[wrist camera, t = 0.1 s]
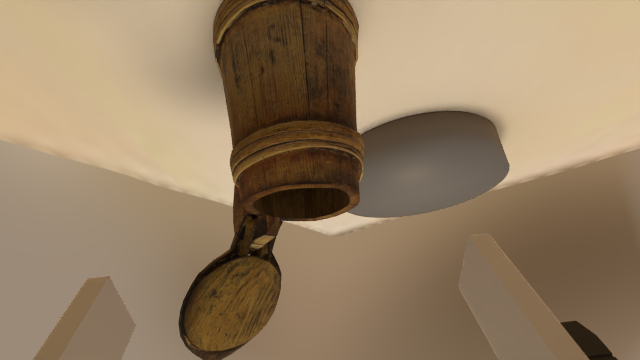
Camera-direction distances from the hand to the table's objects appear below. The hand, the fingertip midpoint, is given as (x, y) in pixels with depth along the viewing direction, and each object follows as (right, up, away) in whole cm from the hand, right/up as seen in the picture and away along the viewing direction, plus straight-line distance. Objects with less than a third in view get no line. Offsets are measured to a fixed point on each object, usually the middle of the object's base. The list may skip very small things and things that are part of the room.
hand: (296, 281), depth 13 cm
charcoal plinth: (+11, +6, +26) cm, 29 cm away
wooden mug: (-3, +12, +10) cm, 16 cm away
